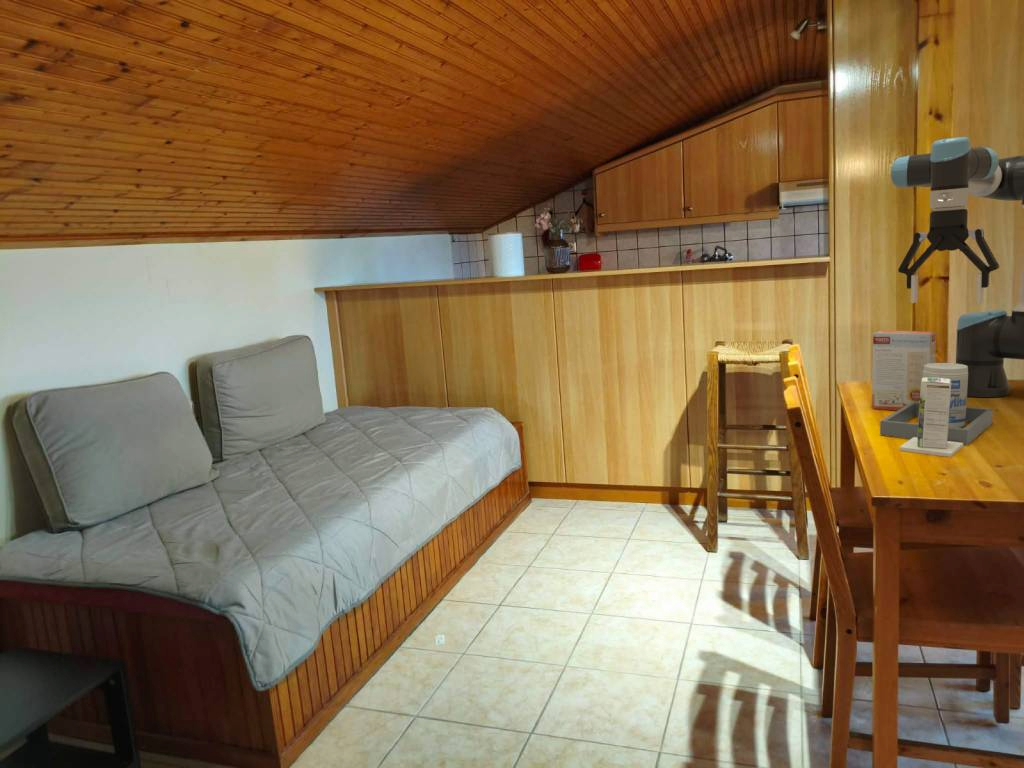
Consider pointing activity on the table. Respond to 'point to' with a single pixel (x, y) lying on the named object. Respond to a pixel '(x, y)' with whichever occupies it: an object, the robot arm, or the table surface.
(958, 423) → the supplement tub
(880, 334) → the cracker box
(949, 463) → the table surface
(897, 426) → the bin
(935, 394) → the syrup box
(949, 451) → the board
